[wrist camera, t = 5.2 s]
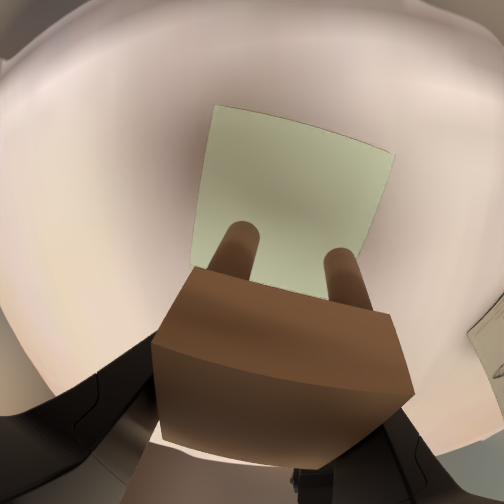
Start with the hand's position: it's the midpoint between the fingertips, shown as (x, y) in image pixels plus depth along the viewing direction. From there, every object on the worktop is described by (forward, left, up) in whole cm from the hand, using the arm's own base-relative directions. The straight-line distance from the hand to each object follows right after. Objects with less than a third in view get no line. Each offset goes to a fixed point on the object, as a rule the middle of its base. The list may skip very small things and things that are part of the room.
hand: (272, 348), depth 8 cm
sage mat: (0, 0, -13) cm, 13 cm away
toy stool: (0, 0, -3) cm, 3 cm away
